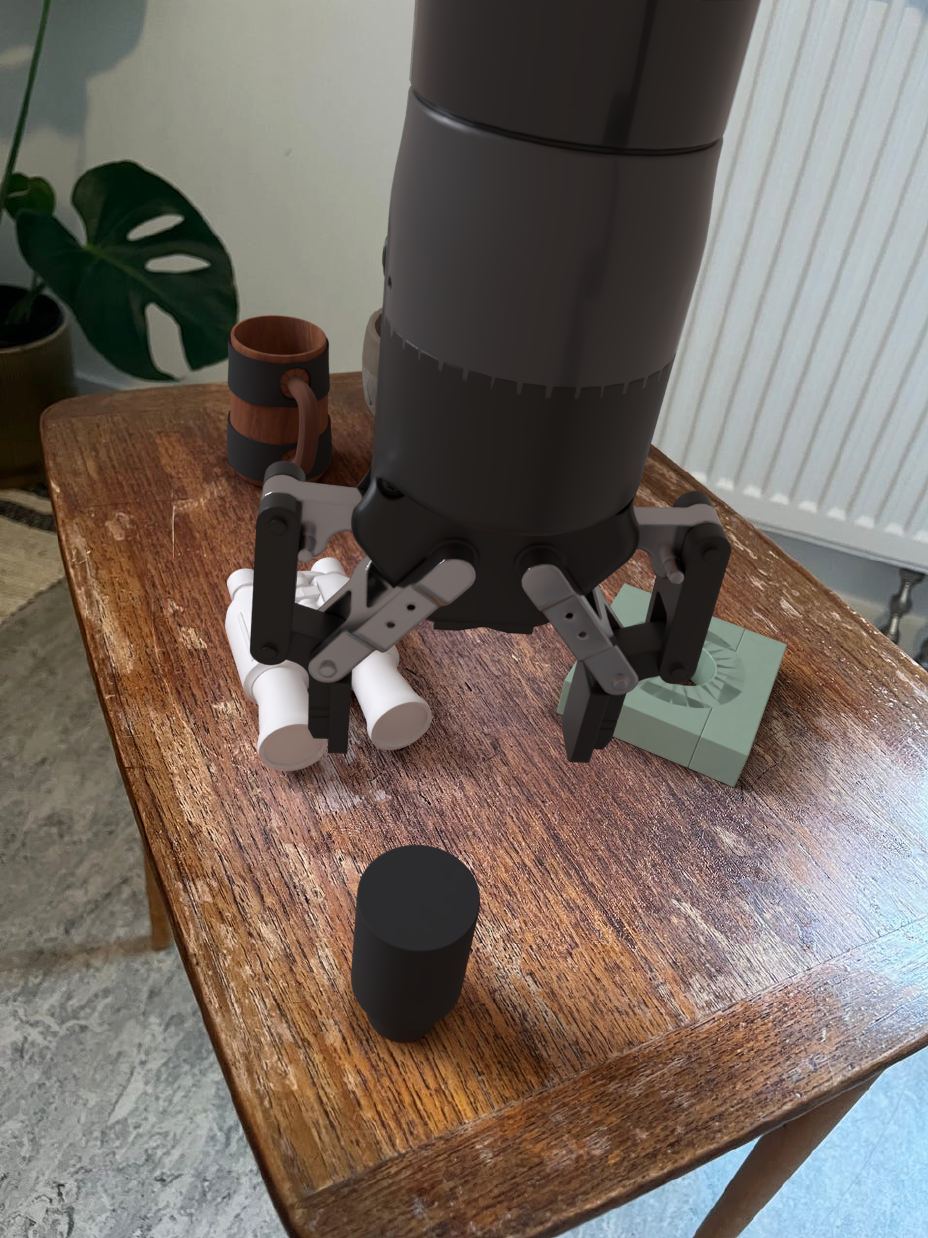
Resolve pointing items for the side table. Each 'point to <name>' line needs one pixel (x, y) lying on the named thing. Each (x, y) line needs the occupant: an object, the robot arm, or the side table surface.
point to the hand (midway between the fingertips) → (458, 740)
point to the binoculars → (284, 686)
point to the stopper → (412, 939)
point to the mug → (278, 397)
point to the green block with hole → (699, 697)
